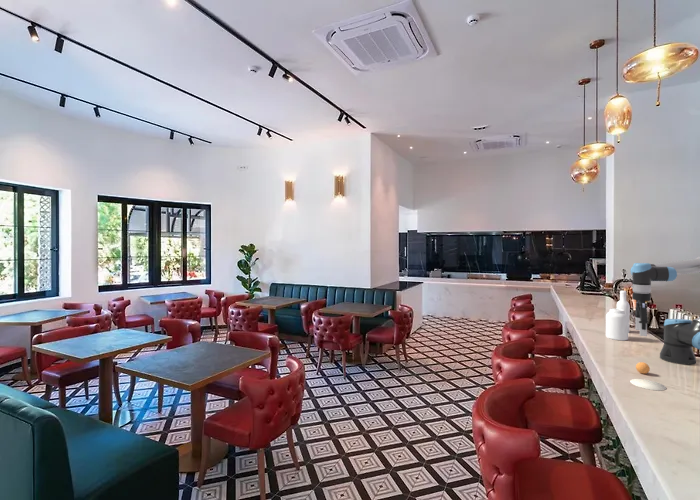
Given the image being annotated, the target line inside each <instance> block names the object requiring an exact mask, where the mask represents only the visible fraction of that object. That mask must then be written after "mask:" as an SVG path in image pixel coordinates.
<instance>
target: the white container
mask: <svg viewBox="0 0 700 500" xmlns="http://www.w3.org/2000/svg"><path fill="white" fill-rule="evenodd" d="M605 337H606V338H607V339H609V340H613V341H614V340H615V341H628V340H629V333H628V315H627V314H626V313H625V310H623V309H616V308H609V311H608V312H606V314H605Z"/></svg>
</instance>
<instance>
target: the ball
mask: <svg viewBox="0 0 700 500" xmlns="http://www.w3.org/2000/svg"><path fill="white" fill-rule="evenodd" d="M635 369H636V371H637V372H638V373H640V374H648V373H649V372H650V370H651V368H650V365H648V364H647V362H643V361H640V362H637V363H636V365H635Z"/></svg>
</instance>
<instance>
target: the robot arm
mask: <svg viewBox="0 0 700 500" xmlns="http://www.w3.org/2000/svg"><path fill="white" fill-rule="evenodd" d="M696 273H697V274H698V273H700V256H697V257H696V258H691V259H684V260H674V261H666V262H658V263H649V262H634V263H633V265H632V266H631V268H630V274H631V276H632V285H631V286H630V287H631V288H632V294H631V295H632V296H631V297H632V300H633V301H635V310H634V311H635V312H634V315H635V331H639V337H640V336H641V337H647V336H648V323H649V320H648V318H649V317H648V304H647V303H646V302H650V301H651V298H652V294H651V293H652V282H674V281H675V280H676V279H677V278H678V275H687V274H696ZM663 322H664V323H663V346H662V348H661V350H660V352H659V358H660V359H661V360H663V361H666V362H668V363H674V364H678V365H679V364H680V365H688V366H689V365H696V364H697V358H696V355H695V353H694V350H693V348H694V349H697V350H700V316H699V317H697V318H693V319H692V320H691V319H685V318H666V319H665V320H664V321H663Z"/></svg>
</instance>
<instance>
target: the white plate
mask: <svg viewBox="0 0 700 500" xmlns="http://www.w3.org/2000/svg"><path fill="white" fill-rule="evenodd" d="M629 381H630V382H629V383H631V384H632V385H634V386H636V387H637V388H640V389H641V388H642V389H645V390H649V391H650V390H651V391H665V390H667V386H665V385H664V384H662V383H660V382H658V381H653V380H650V379H644V378H643V379H642V378H633V379H630V380H629Z"/></svg>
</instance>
